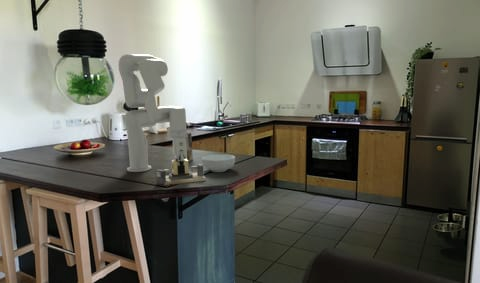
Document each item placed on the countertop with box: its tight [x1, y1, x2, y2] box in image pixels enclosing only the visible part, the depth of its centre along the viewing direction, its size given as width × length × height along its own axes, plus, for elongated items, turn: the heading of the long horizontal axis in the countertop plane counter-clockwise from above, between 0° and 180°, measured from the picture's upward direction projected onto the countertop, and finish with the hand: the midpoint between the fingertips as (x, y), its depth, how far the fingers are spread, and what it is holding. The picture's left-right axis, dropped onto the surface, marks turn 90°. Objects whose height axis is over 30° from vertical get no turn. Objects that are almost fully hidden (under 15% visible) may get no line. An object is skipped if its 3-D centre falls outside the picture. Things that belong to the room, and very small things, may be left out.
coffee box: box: [184, 132, 194, 163], centre depth 211 cm, size 9×6×16 cm
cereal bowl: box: [201, 154, 236, 173], centre depth 187 cm, size 17×17×7 cm
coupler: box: [170, 159, 190, 175], centre depth 170 cm, size 4×8×6 cm, turn 111°
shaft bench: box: [155, 163, 207, 186], centre depth 170 cm, size 12×22×6 cm, turn 111°
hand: (180, 172), depth 170 cm, fingers closed on coupler, 4 cm apart
